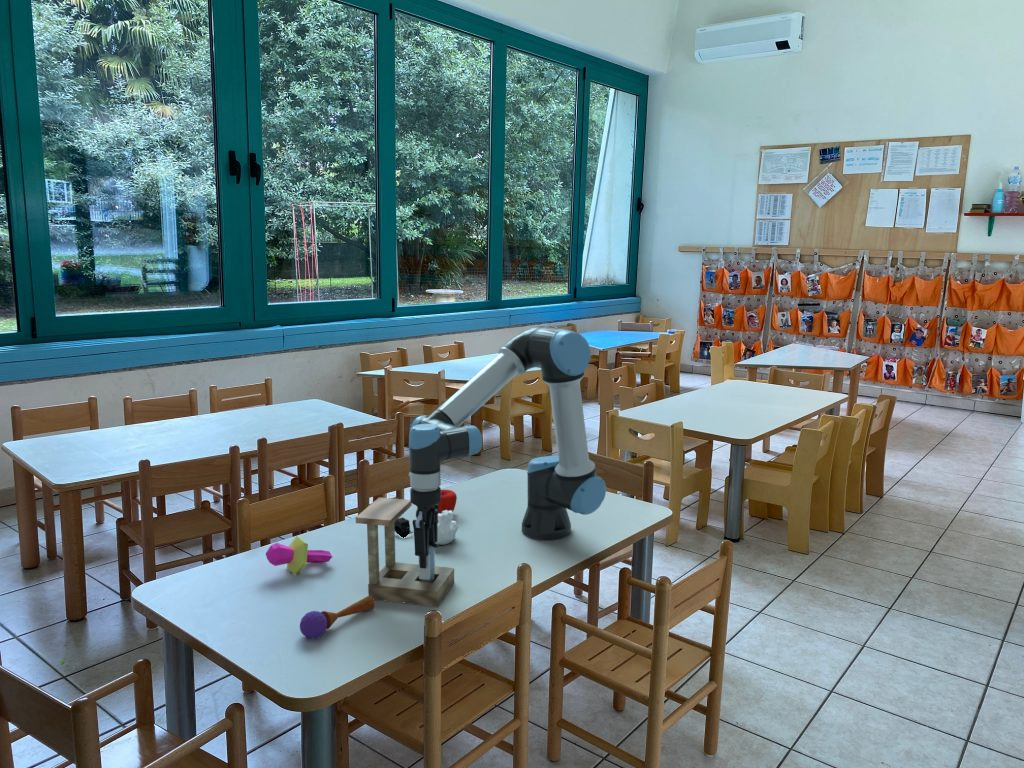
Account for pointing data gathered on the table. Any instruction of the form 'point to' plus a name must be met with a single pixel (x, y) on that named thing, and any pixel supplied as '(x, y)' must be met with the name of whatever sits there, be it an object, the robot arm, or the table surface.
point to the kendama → (330, 618)
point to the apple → (447, 501)
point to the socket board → (411, 585)
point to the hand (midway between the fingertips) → (427, 575)
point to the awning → (385, 515)
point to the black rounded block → (402, 527)
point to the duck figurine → (446, 527)
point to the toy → (296, 555)
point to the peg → (431, 552)
